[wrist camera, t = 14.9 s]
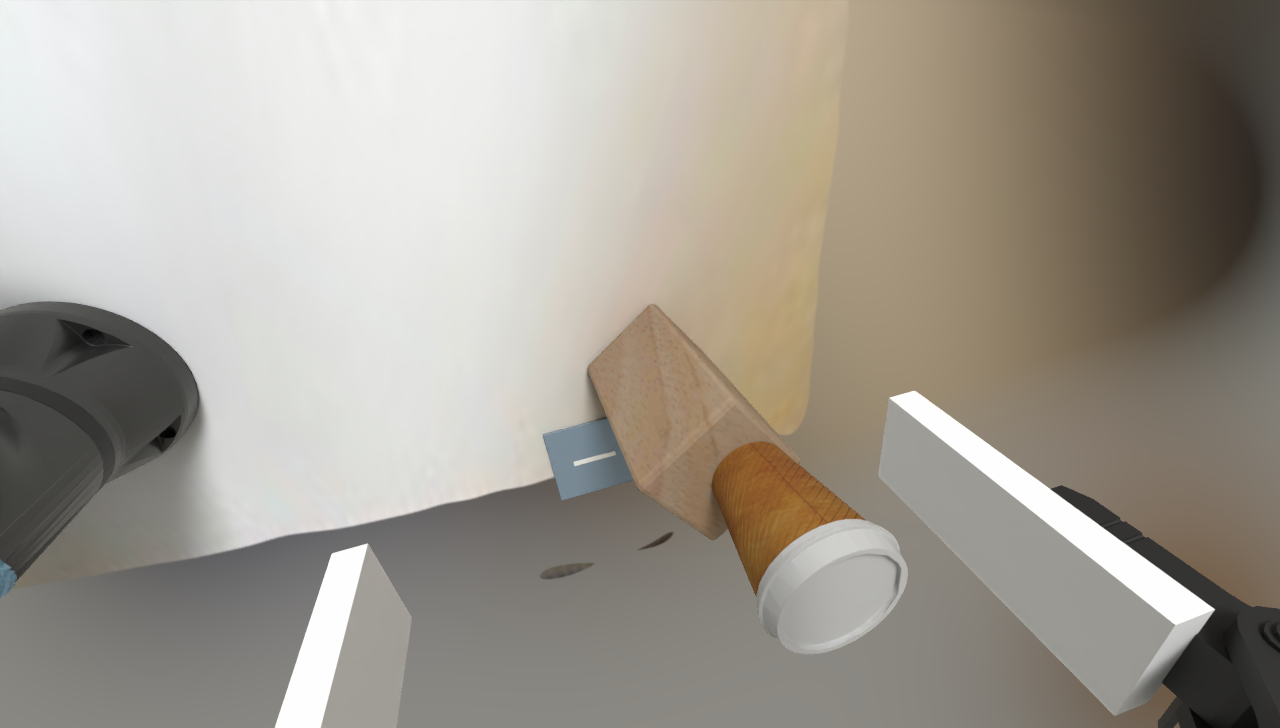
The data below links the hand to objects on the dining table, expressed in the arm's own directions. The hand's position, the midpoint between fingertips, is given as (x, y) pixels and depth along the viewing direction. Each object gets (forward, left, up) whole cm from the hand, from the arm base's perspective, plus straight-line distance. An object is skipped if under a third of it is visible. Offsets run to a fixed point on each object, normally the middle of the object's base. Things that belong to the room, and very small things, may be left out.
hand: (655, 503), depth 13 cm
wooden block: (+8, -19, -39) cm, 44 cm away
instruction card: (+4, -30, -39) cm, 49 cm away
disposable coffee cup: (+11, -19, -19) cm, 29 cm away
